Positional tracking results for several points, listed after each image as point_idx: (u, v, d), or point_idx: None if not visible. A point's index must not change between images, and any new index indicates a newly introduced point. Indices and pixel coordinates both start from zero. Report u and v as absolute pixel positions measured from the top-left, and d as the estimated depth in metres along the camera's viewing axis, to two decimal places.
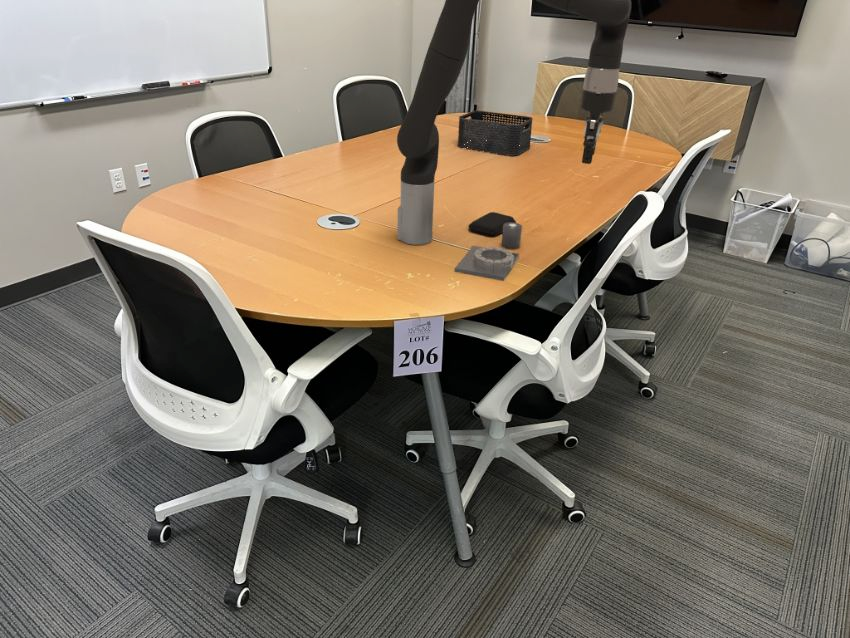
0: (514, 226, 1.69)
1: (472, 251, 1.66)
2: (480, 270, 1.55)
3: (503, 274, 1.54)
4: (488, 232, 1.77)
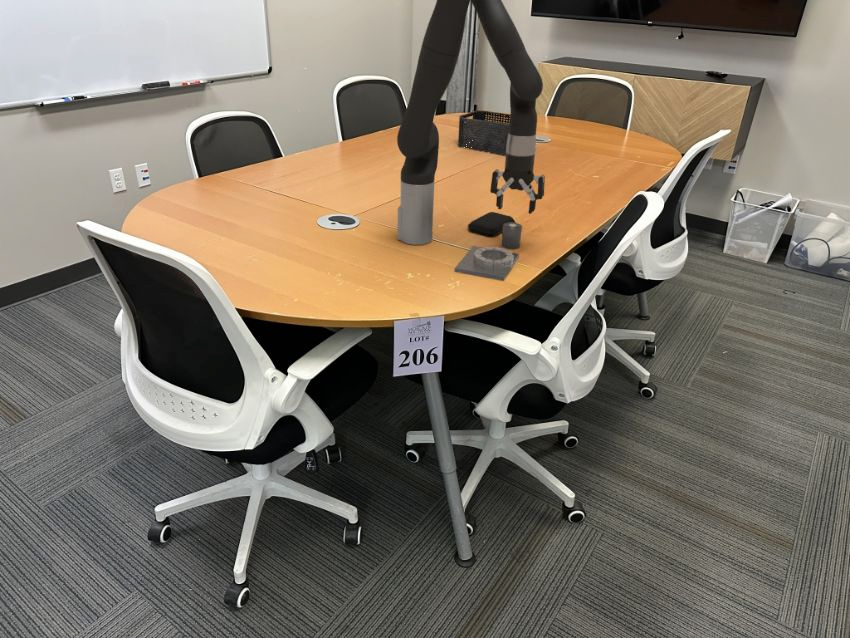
0: (514, 226, 1.69)
1: (472, 251, 1.66)
2: (480, 270, 1.55)
3: (503, 274, 1.54)
4: (487, 232, 1.77)
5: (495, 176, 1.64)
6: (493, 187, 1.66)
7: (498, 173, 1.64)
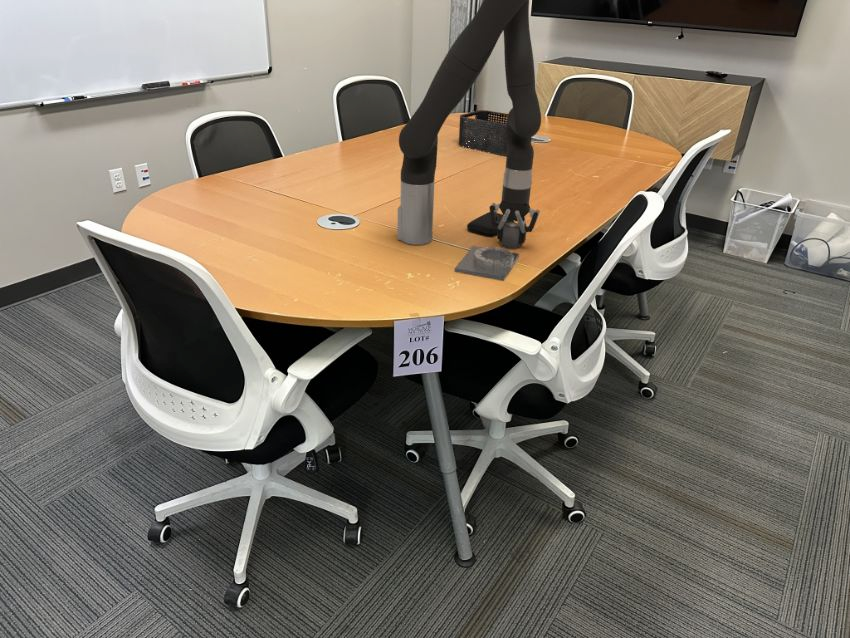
0: (514, 226, 1.69)
1: (472, 251, 1.66)
2: (480, 270, 1.55)
3: (503, 274, 1.54)
4: (486, 232, 1.78)
5: (493, 210, 1.69)
6: (493, 220, 1.70)
7: (495, 206, 1.69)
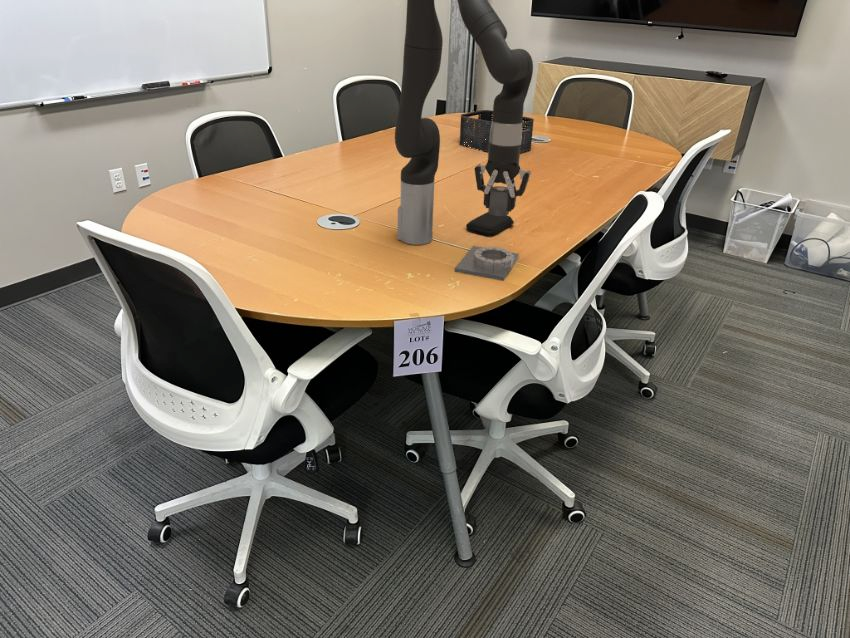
0: (502, 190, 1.50)
1: (472, 251, 1.66)
2: (480, 270, 1.55)
3: (503, 274, 1.54)
4: (485, 231, 1.78)
5: (478, 171, 1.50)
6: (479, 184, 1.51)
7: (480, 167, 1.50)
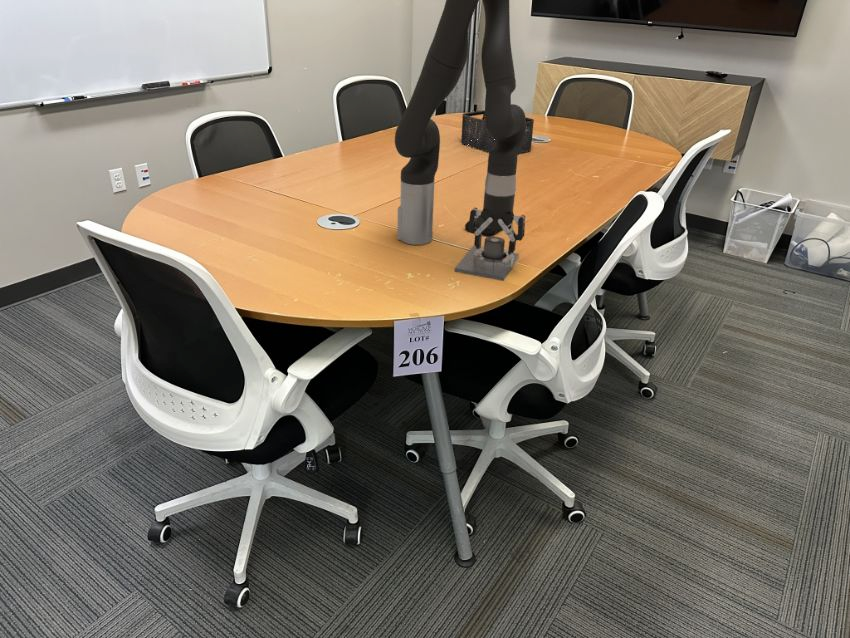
0: (496, 241, 1.57)
1: (472, 251, 1.66)
2: (480, 270, 1.55)
3: (503, 274, 1.54)
4: (484, 231, 1.78)
5: (473, 215, 1.55)
6: (471, 226, 1.57)
7: (476, 212, 1.55)
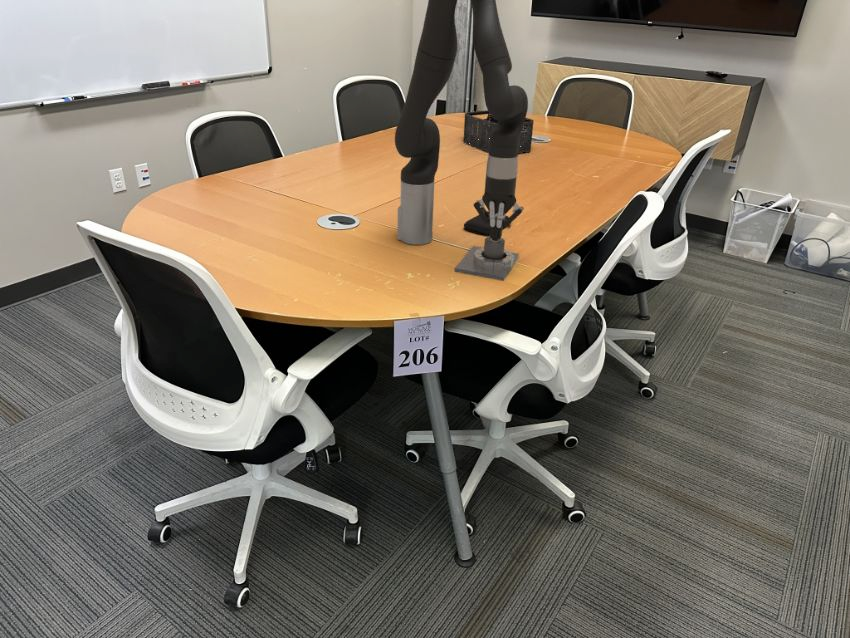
0: (496, 241, 1.57)
1: (472, 251, 1.66)
2: (480, 270, 1.55)
3: (503, 274, 1.54)
4: (483, 231, 1.78)
5: (478, 206, 1.54)
6: (484, 217, 1.54)
7: (479, 202, 1.54)
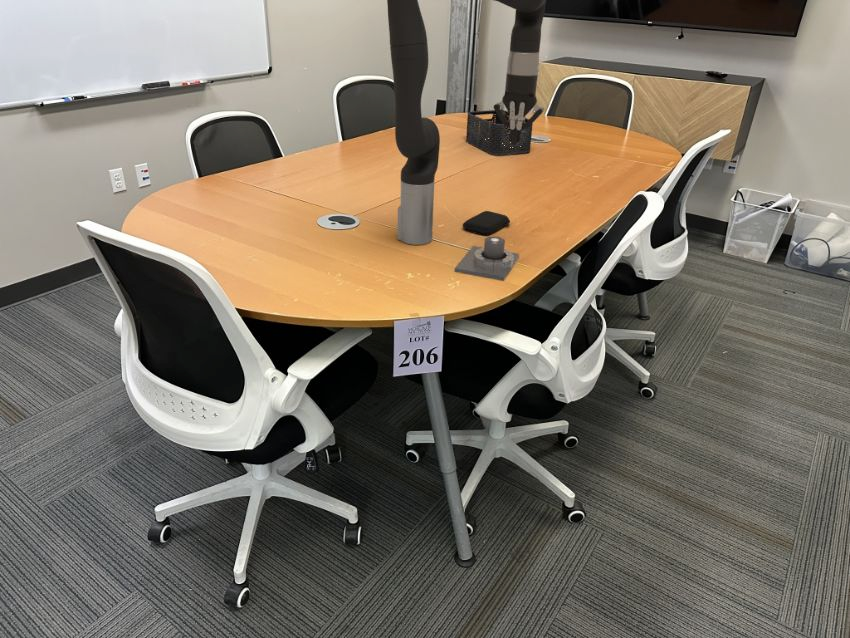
0: (496, 241, 1.57)
1: (472, 251, 1.66)
2: (480, 270, 1.55)
3: (503, 274, 1.54)
4: (482, 231, 1.78)
5: (498, 108, 1.53)
6: (504, 119, 1.53)
7: (499, 104, 1.53)
